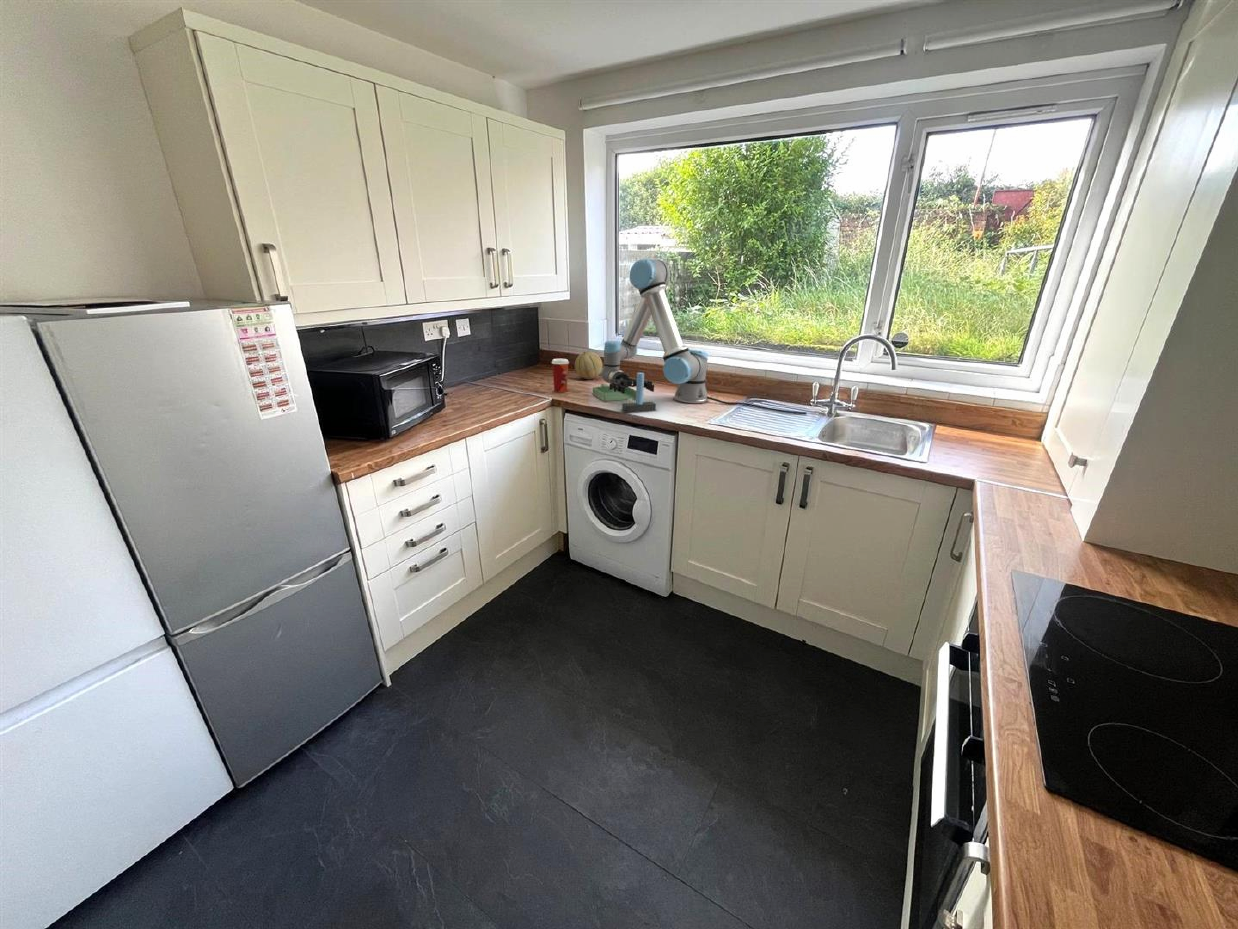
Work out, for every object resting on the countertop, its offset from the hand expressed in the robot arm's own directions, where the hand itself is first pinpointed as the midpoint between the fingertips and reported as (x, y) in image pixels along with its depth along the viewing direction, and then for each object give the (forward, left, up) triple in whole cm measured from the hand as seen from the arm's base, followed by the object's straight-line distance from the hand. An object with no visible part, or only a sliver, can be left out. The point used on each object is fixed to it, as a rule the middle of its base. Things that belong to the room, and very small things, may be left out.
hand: (638, 389), depth 209 cm
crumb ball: (+5, -6, -7) cm, 11 cm away
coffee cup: (+44, -18, -9) cm, 49 cm away
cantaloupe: (+42, -50, -9) cm, 67 cm away
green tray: (+20, -23, -9) cm, 32 cm away
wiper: (-1, +1, -9) cm, 9 cm away
